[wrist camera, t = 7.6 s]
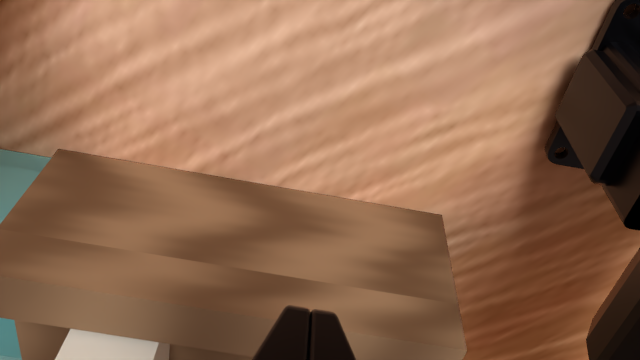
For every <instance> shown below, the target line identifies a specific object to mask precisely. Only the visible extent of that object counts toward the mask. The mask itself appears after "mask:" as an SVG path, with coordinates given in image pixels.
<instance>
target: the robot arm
mask: <svg viewBox="0 0 640 360" xmlns="http://www.w3.org/2000/svg"><path fill="white" fill-rule="evenodd" d="M630 4H636V6H635V9H634V10H633V12H632V13H630V14H628V15H623V13H624V9H625V8H626V7H627V6H628V5H630ZM555 117H556V119H557V122H556V125H555V127H554V129H553V131H552V133H551V135H550V137H549V139H548V141H547V144H546V146H545V152H546V155H547V157H548V159H549V160H550V161H551V162H552V163H555V164H559V165H564V166H570V167H575V168H581V169H585V171H586V173H587V174H588V176H589V178H590V180H591V181H592V182H593V183H595V184H601V186H602V187H603V189H604V191H605V192H606V194H607V196H608V198H609V199H610V201H611V203H612V205H613V206H614V208H615V210H616V211H617V213H618V215H619V217H620V218H621V220H622V222H623V224H624V225H625V227H627V228H629V229H634V230H640V0H615V2H614V3H613V4H612V7H611V9H610V11H609V13H608V15H607V17H606V19H605V21H604V23H603V26H602V28H601V30H600V32H599V34H598V36H597V38H596V40H595V42H594V45H593V47H592V49H591V50H589V51H588V52H586V53H585V54H584V55H583V56H582V58H581V60H580V62H579V64H578V67H577V69H576V71H575V73H574V75H573V77H572V79H571V82H570V84H569V86H568V88H567V90H566V92H565V94H564V97H563V99H562V101H561V103H560V105H559V107H558V109H557V111H556V114H555ZM561 147H565V149H564V150H563V151H562V152H560V153H555V151H556V150H557V149H558V148H561ZM586 342H587V349H588V355H589V360H640V248H639V250H638V251H637V253H636V254H635V256H634V257H633V259H632V260H631V262H630V263H629V265H628V266H627V268H626V269H625V271H624V272H623V274H622V275H621V277H620V278H619V280H618V281H617V283H616V284H615V286H614V287H613V289H612V290H611V292H610V293H609V295H608V296H607V298H606V299H605V301H604V302H603V304H602V305H601V307H600V308H599V310H598V311H597V313H596V315H595V316H594V318H593V320H592V323H591V326H590V329H589V332H588V335H587V339H586ZM251 360H356V358H355V356H354V354H353V351H352V349H351V347H350V344H349V342H348V340H347V337H346V335H345V333H344V330H343V328H342V326H341V323H340V321H339V319H338V317H337V315H336V314H335V313H334V312H331V311H325V310H319V309H314V310H312V311H311V312H310V310H309V309H308V308H306V307H300V306H294V305H287V306H286V307H285V308H284V309H283V311H282V312H281V314H280V315H279V317H278V318H277V320H276V322H275V323H274V325H273V326H272V328H271V329H270V331H269V333H268V334H267V336H266V337H265V339H264V341H263V342H262V344H261V345H260V347H259V348H258V350H257V352H256V353H255V355H254V356H253V358H252V359H251Z"/></svg>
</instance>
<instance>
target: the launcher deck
mask: <svg viewBox="0 0 640 360" xmlns="http://www.w3.org/2000/svg"><path fill="white" fill-rule="evenodd" d="M287 305H294V306H300V307H306V308H308V309H309V310H310V312H311V311H312V310H314V309H319V310H325V311H331V312H334V313H335V314H336V315H337V317H338V319H339V321H340V323H341V326H342V328H343V330H344V333H345V335H346V337H347V340H348V342H349V344H350V347H351V349H352V351H353V354H354V356H355V358H356V360H463V358H464V356H465V354H466V352H467V347H466V342H465V336H464V331H463V326H462V320H461V315H460V310H459V304H458V299H457V294H456V288H455V283H454V277H453V272H452V267H451V261H450V256H449V251H448V245H447V240H446V235H445V229H444V224H443V219H442V215H438V214H432V213H426V212H420V211H415V210H409V209H403V208H397V207H391V206H386V205H380V204H374V203H368V202H362V201H357V200H351V199H345V198H339V197H333V196H328V195H322V194H316V193H310V192H304V191H299V190H293V189H287V188H281V187H275V186H270V185H264V184H258V183H252V182H246V181H241V180H235V179H229V178H223V177H218V176H212V175H206V174H200V173H194V172H189V171H183V170H177V169H171V168H165V167H160V166H154V165H148V164H142V163H136V162H131V161H125V160H119V159H113V158H107V157H102V156H96V155H90V154H84V153H78V152H73V151H67V150H61V149H58V150H57V151H56V153H55V154H54V155H53V157H52V158H51V159H50V160H49V162H48V163H47V164H46V166H45V167H44V168H43V170H42V171H41V172H40V173H39V175H38V176H37V177H36V179H35V180H34V181H33V182H32V184H31V185H30V186H29V188H28V189H27V190H26V191H25V193H24V194H23V195H22V197H21V198H20V199H19V200H18V202H17V203H16V204H15V206H14V207H13V208H12V209H11V211H10V212H9V213H8V215H7V216H6V217H5V218H4V220H3V221H2V222H1V224H0V318H5V319H12V320H14V321H15V327H16V332H17V337H18V342H19V347H20V353H21V358H22V360H55V358H56V356H57V354H58V353H59V351H60V349H61V347H62V345H63V343H64V341H65V339H66V337H67V335H68V333H69V331H70V329H76V330H83V331H89V332H96V333H102V334H108V335H115V336H121V337H128V338H134V339H141V340H147V341H154V342H160V343H166V344H170V350H169V360H251V359H252V358H253V356H254V355H255V353H256V352H257V350H258V348H259V347H260V345H261V344H262V342H263V341H264V339H265V337H266V336H267V334H268V333H269V331H270V329H271V328H272V326H273V325H274V323H275V322H276V320H277V318H278V317H279V315H280V314H281V312H282V311H283V309H284V308H285V307H286V306H287Z"/></svg>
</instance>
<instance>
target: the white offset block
mask: <svg viewBox="0 0 640 360" xmlns="http://www.w3.org/2000/svg"><path fill="white" fill-rule="evenodd" d="M169 350H170V344H166V343H160V342H154V341H147V340H141V339H134V338H128V337H121V336H115V335H108V334H102V333H96V332H89V331H83V330H76V329H70V331H69V333H68V335H67V337H66V339H65V341H64V343H63V345H62V347H61V349H60V351H59V353H58V354H57V356H56V358H55V360H169Z"/></svg>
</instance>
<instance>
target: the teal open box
mask: <svg viewBox="0 0 640 360" xmlns="http://www.w3.org/2000/svg"><path fill="white" fill-rule="evenodd" d="M50 159H51V158H50V157H44V156H38V155H32V154H27V153H21V152H15V151H9V150H3V149H0V224H1V222H2V221H3V220H4V218H5V217H6V216H7V215H8V213H9V212H10V211H11V209H12V208H13V207H14V206H15V204H16V203H17V202H18V200H19V199H20V198H21V197H22V195H23V194H24V193H25V191H26V190H27V189H28V188H29V186H30V185H31V184H32V182H33V181H34V180H35V179H36V177H37V176H38V175H39V173H40V172H41V171H42V170H43V168H44V167H45V166H46V164H47V163H48V162H49V160H50ZM0 360H22V358H21V353H20V347H19V342H18V337H17V332H16V327H15V321H14V320H12V319H5V318H0Z"/></svg>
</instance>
